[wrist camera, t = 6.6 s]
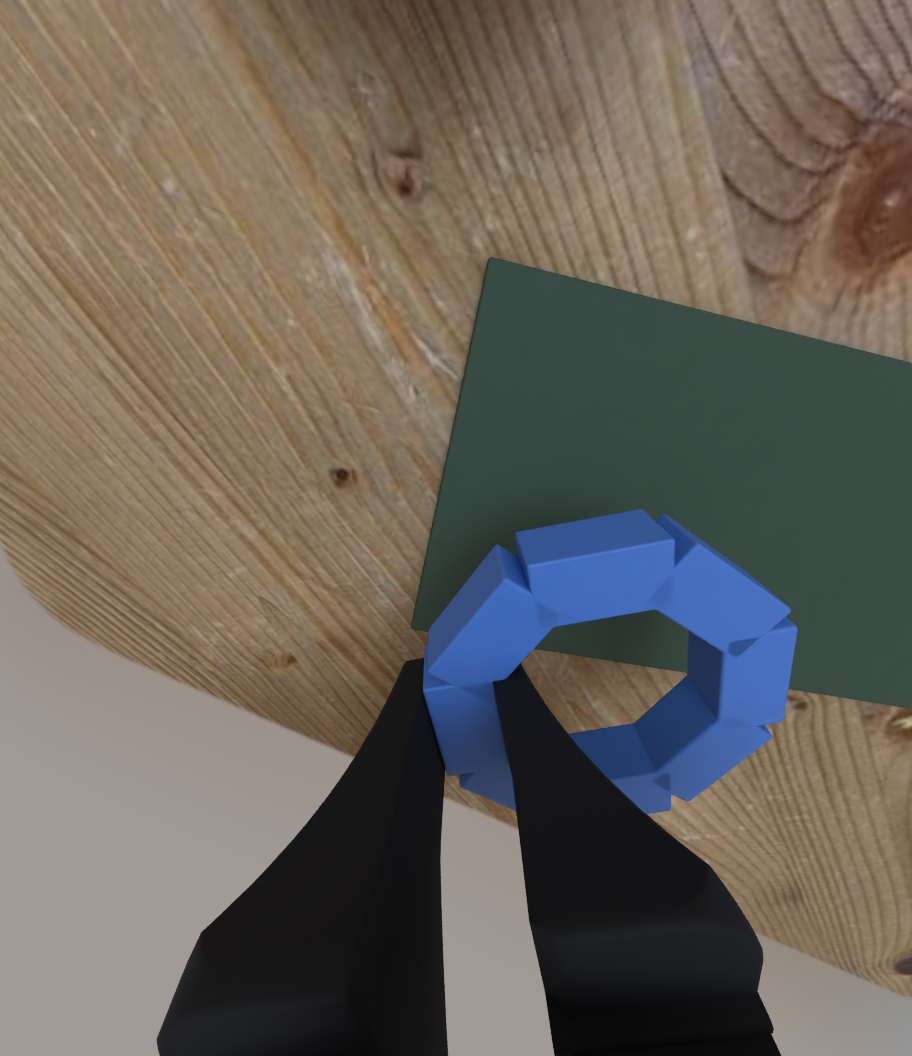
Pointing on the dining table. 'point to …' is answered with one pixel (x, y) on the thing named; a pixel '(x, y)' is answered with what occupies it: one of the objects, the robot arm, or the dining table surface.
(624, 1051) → the robot arm
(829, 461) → the mat
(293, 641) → the dining table surface
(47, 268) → the dining table surface
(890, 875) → the dining table surface
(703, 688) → the ring
